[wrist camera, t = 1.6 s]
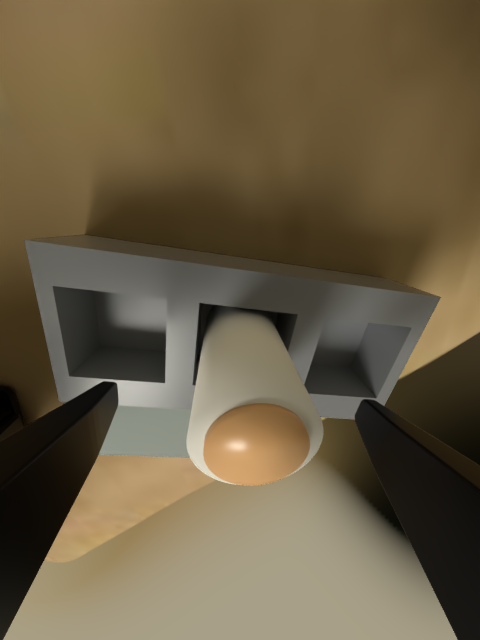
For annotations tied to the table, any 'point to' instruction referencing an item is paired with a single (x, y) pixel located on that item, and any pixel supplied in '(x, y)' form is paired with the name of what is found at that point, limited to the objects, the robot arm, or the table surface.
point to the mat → (147, 432)
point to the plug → (249, 403)
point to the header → (191, 315)
